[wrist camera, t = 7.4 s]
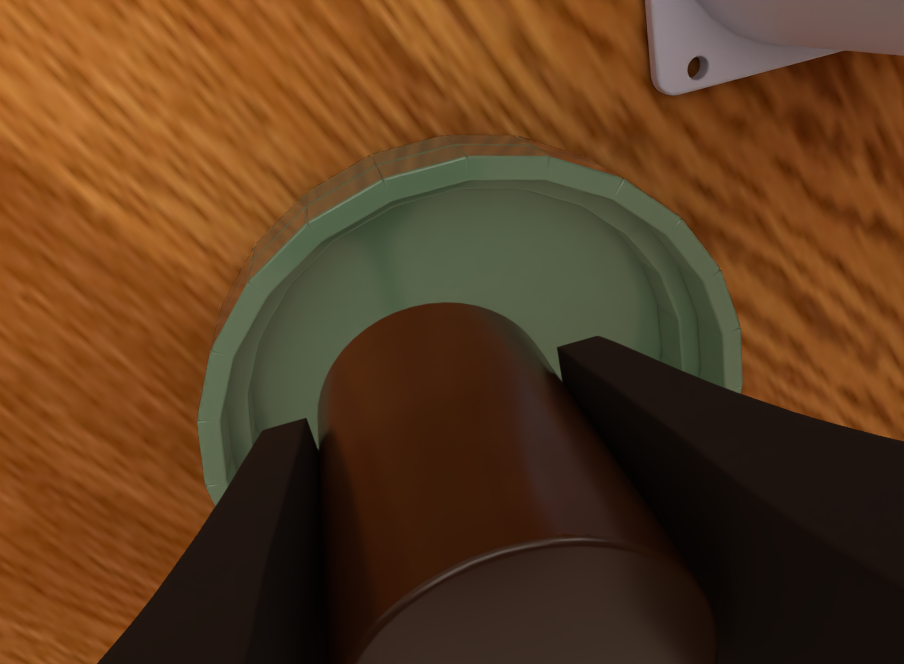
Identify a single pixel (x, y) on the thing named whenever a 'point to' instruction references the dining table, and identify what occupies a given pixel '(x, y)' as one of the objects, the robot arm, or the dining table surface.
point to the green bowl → (457, 276)
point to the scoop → (485, 511)
